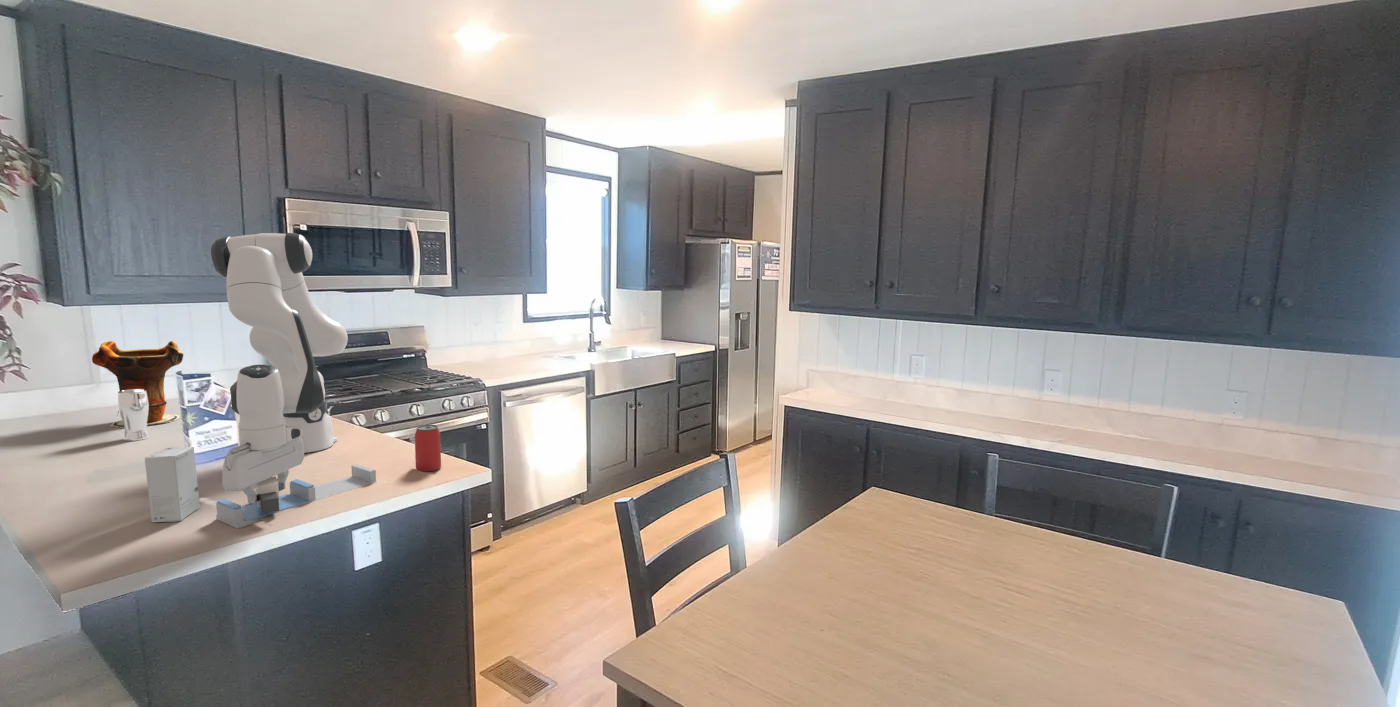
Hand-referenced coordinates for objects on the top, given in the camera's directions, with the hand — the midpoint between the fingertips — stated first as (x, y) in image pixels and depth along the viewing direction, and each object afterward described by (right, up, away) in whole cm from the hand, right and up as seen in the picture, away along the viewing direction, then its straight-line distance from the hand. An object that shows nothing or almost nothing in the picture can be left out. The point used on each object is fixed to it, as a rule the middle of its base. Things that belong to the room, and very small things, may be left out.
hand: (267, 495), depth 147 cm
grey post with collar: (0, -2, 0) cm, 2 cm away
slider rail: (+4, -3, +7) cm, 9 cm away
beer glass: (-75, +6, +52) cm, 91 cm away
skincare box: (-18, -4, -3) cm, 19 cm away
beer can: (+23, 0, +33) cm, 40 cm away
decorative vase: (-89, +9, +71) cm, 114 cm away
